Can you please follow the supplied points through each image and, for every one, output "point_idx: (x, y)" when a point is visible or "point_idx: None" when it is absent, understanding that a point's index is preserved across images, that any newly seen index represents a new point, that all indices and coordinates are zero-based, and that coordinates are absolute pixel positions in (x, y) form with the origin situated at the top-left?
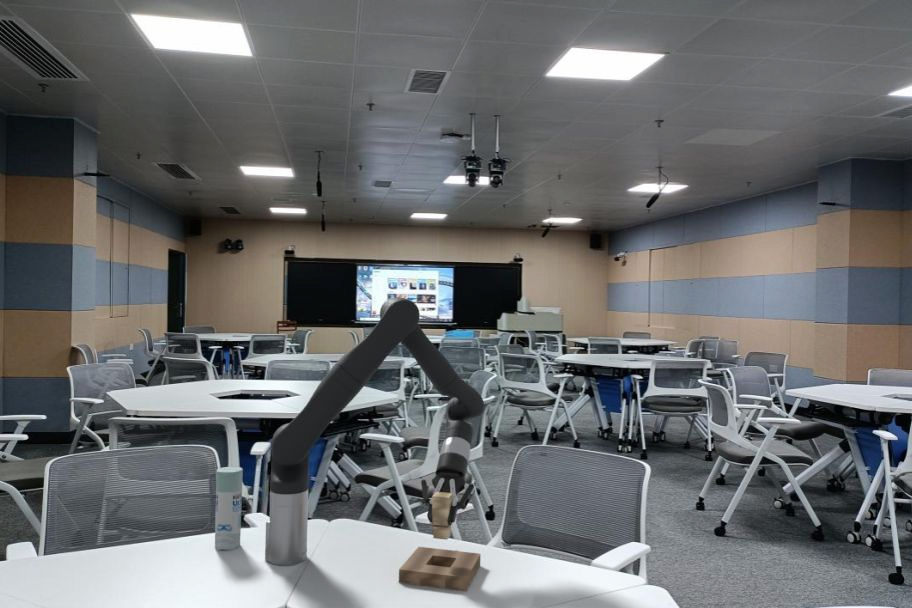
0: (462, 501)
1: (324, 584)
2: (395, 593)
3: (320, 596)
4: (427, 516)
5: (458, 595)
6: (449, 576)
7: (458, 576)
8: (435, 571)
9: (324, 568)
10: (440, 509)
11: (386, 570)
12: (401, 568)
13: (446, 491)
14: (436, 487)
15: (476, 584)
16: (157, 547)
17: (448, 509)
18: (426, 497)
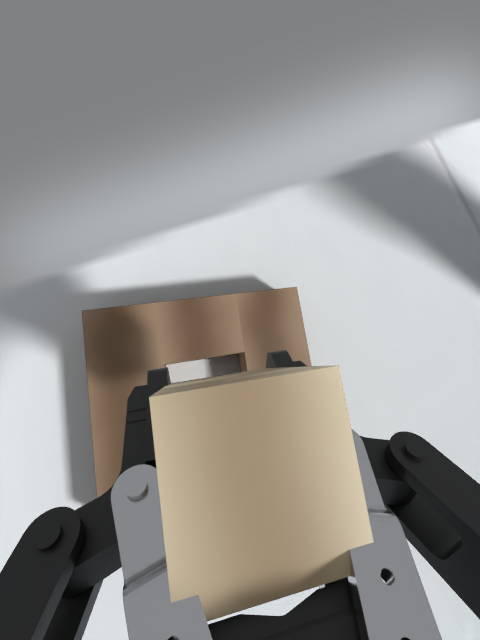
0: (36, 542)
1: (420, 222)
2: (261, 237)
3: (391, 171)
4: (303, 364)
5: (108, 286)
6: (141, 305)
7: (111, 309)
8: (193, 315)
9: (473, 296)
10: (229, 377)
11: (348, 350)
12: (293, 294)
13: (276, 634)
14: (430, 623)
15: (80, 374)
16: None
17: (162, 388)
18: (416, 464)
